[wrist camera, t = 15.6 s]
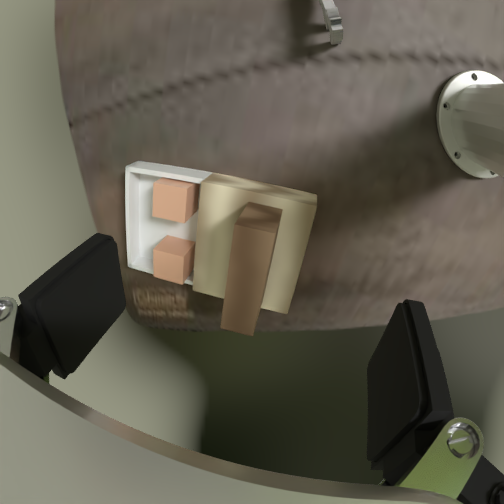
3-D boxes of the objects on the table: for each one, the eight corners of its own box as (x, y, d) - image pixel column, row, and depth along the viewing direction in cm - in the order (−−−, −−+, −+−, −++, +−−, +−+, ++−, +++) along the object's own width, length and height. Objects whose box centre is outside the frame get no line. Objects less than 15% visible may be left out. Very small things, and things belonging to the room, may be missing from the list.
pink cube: (187, 188, 31) (153, 182, 31) (184, 223, 33) (152, 216, 33) (200, 178, 34) (169, 173, 35) (197, 210, 36) (167, 204, 37)
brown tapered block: (282, 209, 31) (275, 233, 26) (262, 302, 37) (252, 336, 31) (248, 201, 31) (234, 224, 26) (233, 295, 37) (220, 328, 32)
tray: (213, 172, 34) (204, 179, 32) (202, 273, 41) (195, 285, 39) (138, 160, 35) (125, 166, 33) (138, 256, 42) (128, 266, 40)
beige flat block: (316, 194, 33) (317, 206, 30) (290, 295, 40) (287, 314, 37) (213, 172, 34) (201, 181, 31) (202, 273, 41) (192, 290, 38)
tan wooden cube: (183, 256, 35) (153, 249, 35) (182, 284, 37) (153, 276, 37) (195, 241, 38) (167, 235, 39) (193, 268, 40) (166, 261, 41)
